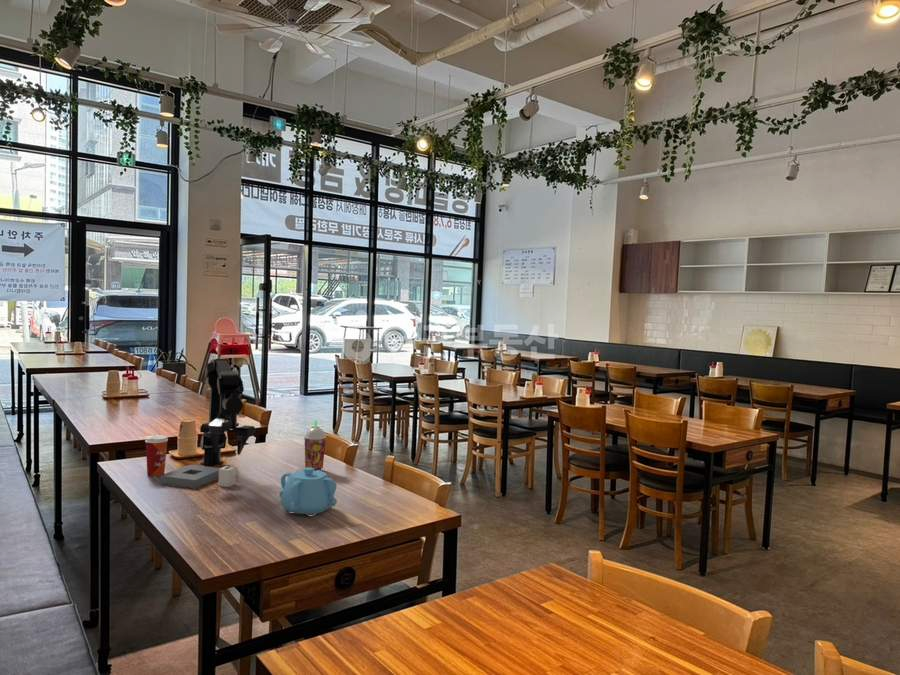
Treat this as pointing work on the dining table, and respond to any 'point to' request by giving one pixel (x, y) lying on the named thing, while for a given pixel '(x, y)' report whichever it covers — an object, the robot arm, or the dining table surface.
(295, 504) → the decorative pot
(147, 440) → the paper cup
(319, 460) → the smoothie
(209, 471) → the socket plate
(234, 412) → the robot arm
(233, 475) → the block
